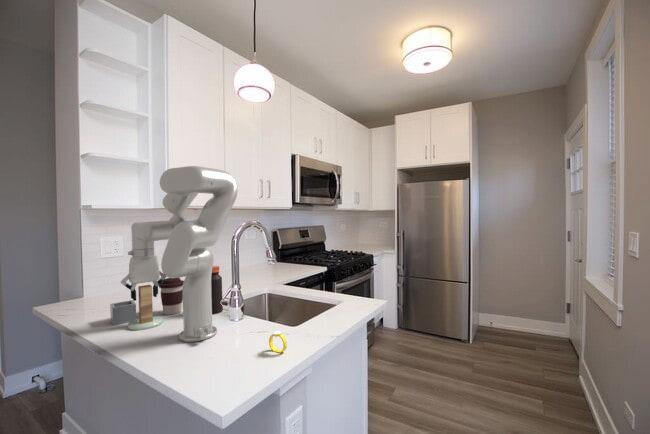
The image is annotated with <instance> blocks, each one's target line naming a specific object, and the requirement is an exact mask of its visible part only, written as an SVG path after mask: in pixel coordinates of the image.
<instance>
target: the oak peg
mask: <svg viewBox="0 0 650 434" xmlns="http://www.w3.org/2000/svg"><path fill="white" fill-rule="evenodd" d="M153 313H154V311H153V286H152V285H151V284H144V285H140V286H139V285H138V319H139V322H140V323H141V324H144V323H148V322H153Z"/></svg>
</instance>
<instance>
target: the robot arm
mask: <svg viewBox="0 0 650 434" xmlns="http://www.w3.org/2000/svg"><path fill="white" fill-rule="evenodd" d="M159 186H160V189H161V191H163V192H165V193H166V194H165V196H164V197H163V199H162V205H163V207H164V209H165V210H167V211H168V213H170V214H173V215H172V216H171V218H170V219H169V220H155V221H153V220H152V221H139V222H133V223H132V224H131V227H130V228H131V250H130V251H127V255H128V256H131V257H130V259H129V263H128V264H129V266H128V274H126V276H125V277H124V278H122V279H121V280H120V284H122V286H124V287H126V289H128V290H130V299H131V300H133V301H134V302H135V301H137V291H136V286H137V285H138V284H143V283H144V284H145V283H151V282H152V284H153V286H152V297H154V298H157V297H158V294H159V285H160V284H161V283H162V281H163V280H164V279H166V278H180V279H181V278H184V277H185V278H184V280H183V281H184V283H183V288H182V291H183V293H182V294H183V300H182V316H183V317H182V319H183V330H182V331H181V332H179V334H178V339H179V340H180V341H183V342H187V343H188V342H189V343H191V342H192V343H193V342H200V341H204V340H207V339H211V338H212V337H214V336H215V335H217V333H218V328H217V327H216V326H215V325H213V314H212V298H211V275H212V268H213V266H214V254H213V252H212V251H211V249H209V248H210V247H213V246H214V245H216V243H217V242H218V240H219V238H220V236H221V234H222V231H223V229H224V226H225V223H226V220H227V219H228V216H229V214H230V212H231V210H232V208H233V206H234V204H235V202H236V199H237V196H238V184H237V181H236V179H235V177H234V176H233V175H232V174H231V173H230V172H227V171H225V170H222V169H217V168H212V167H211V168H210V167H205V166H198V165H197V166H196V165H188V166H181V167H180V166H179V167H171V168H170V167H169V169H168V168H167V169H166V170H165V171H163V172H162V174H161V176H160V178H159ZM198 194H211V195H212V197H210V198H209V199H208V200H207V201H206V202H205V204H204V206H203V207H202V209H201V212H200V214H199V216H198V218H197V219H194V220H187V212H186V211H187V209H188V208H189V207H190V205H191V204H192V202H193V201H194V199H196V197H197V196H198ZM166 240H167V243H166V246H165V248H164V251H163V255H162V257H161V264H159V260H158V256H157V255H155V241H157V242H158V241H166ZM159 265H161V267H159ZM160 268H161V271H160ZM128 282H130V283H131V284H130V283H128Z"/></svg>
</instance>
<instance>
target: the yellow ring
mask: <svg viewBox="0 0 650 434" xmlns="http://www.w3.org/2000/svg"><path fill="white" fill-rule="evenodd" d="M274 337H276V338H277V337H279V338H280V339H281V341H282V343H283V347H282V349H278V348H276V347H275V346H274V342H273V338H274ZM287 342H288V341H287V339H286V337H285V336H284V334H283V333H282V331H280V330H277V331H274V332H273V333H272V334H271V335H270V336H269V339H268V344H269V348H270V350H271V351H272V352H274V353H279V354H282V353H283V352H284V351H286V349H287V348H288V347H287V346H288V343H287Z"/></svg>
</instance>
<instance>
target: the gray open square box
mask: <svg viewBox="0 0 650 434" xmlns="http://www.w3.org/2000/svg"><path fill="white" fill-rule="evenodd" d="M109 307H110V309H109V311H110V323H111V324H112V326H118V325H122V324H129V323H130V322H132V321H134V320H137V303H136V302H135V301H134V300H133V299H131V300H125V301H119V302H114V303H110V304H109Z"/></svg>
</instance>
